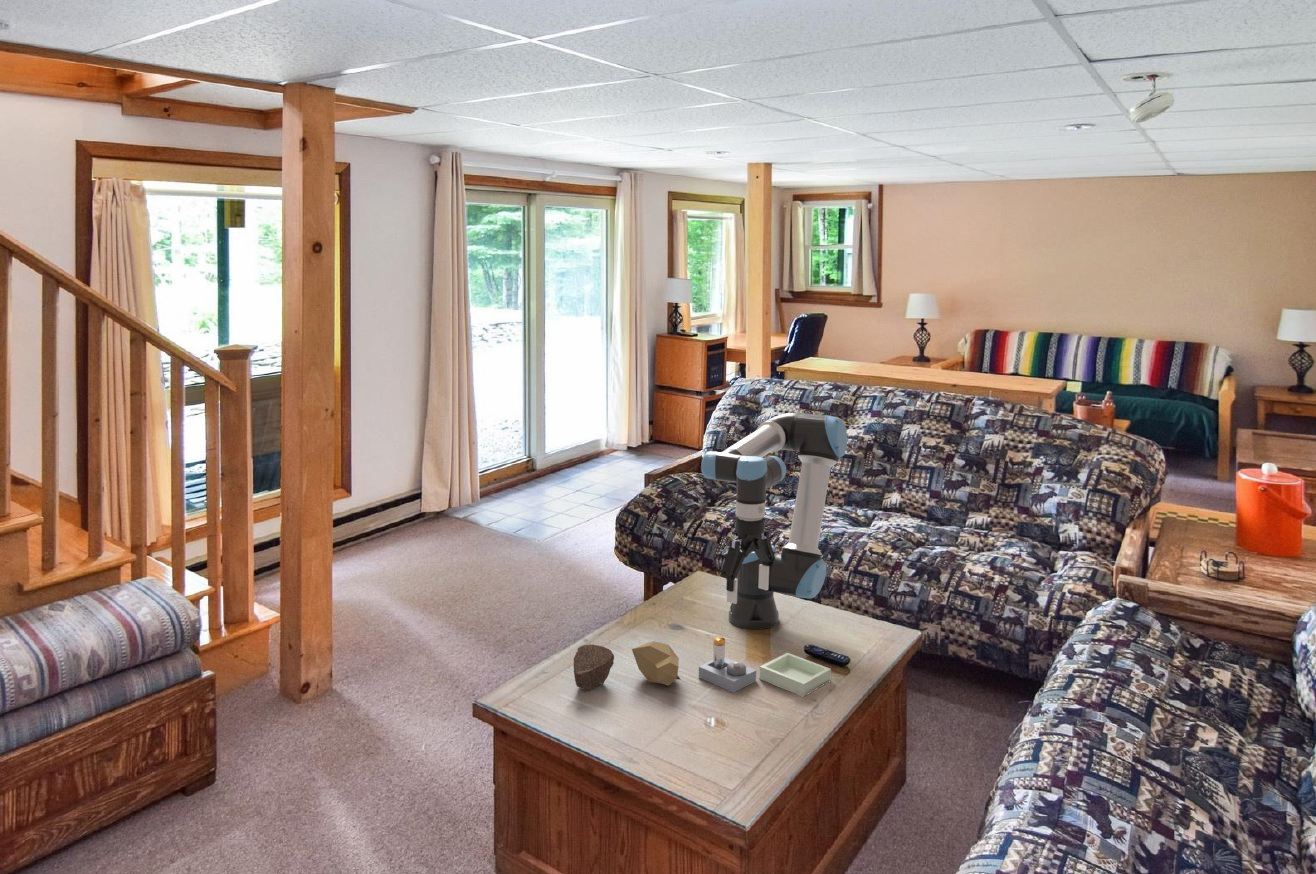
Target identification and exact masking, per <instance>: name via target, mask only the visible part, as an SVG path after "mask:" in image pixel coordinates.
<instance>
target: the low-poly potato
mask: <svg viewBox="0 0 1316 874" xmlns="http://www.w3.org/2000/svg"><path fill="white" fill-rule="evenodd" d="M631 651H632V654H633V657H634V661H636V662H635V663H636V665H637V668H638V670H639V671H640V673H641V674H642V675H643V677H644V678H645V679H646V680H647V682H648V683H653V684H659V685H660V684H661V685H665V686H670V685H671V684H672V683H674V682H675V680H679V681H680V680H681V678H680V676H679V675H678V674H679V665H680V664H679V661H680V660H679V659H680V658H679V657H678V655H677V654H676V652H674V649H673V648H672V647H671V646H670V644H668V643H663V642H658V641H651V642H648V643H645V644H642V645H639V646H637V647H633V648H631Z"/></svg>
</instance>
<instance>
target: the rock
mask: <svg viewBox="0 0 1316 874" xmlns="http://www.w3.org/2000/svg"><path fill="white" fill-rule="evenodd" d="M614 660H615V655H614V653H613V652H612V650H611V649H609V648H608V647H606V646H603V645H598V644H583V645H581V646H579V647H577V650H576V652H575V654H574V656H573V675H574V681H575V685H576V687H577V688H580V689H581V690H583V691H584V692H591V691H593V690H594V688H597V686H601V685H604V684H605V681H606V680H607V679H608V677H609V674H610V672H611V668H612V667H613V666H614V664H615V662H614Z"/></svg>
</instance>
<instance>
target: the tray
mask: <svg viewBox="0 0 1316 874" xmlns="http://www.w3.org/2000/svg"><path fill="white" fill-rule="evenodd" d="M831 674H832V669H831V668H829V667H827V666H824V665H821V664H820V663H816V662H813V661H812V660H808V659H806V658H804V657H803V658H802V657H801V656H798V655H796V654H795V655H794V654H792V653H789V652H785V653H784V654H782V655H780V656H778V657H776V658H774V659H772V660H770V661H768V662H766V663H764V664H761V666H759V680H761V681H764V682H766V683H769V684H771V685H773V686H776V687H778V688H780V689H783V690H785V691H788V692H791V693H793V694H795V693H796V695H798V696H800V697H802V696H804V697H805V695H806V696H807V695H809V694H811V693H812V691H813V692H815V691H816V690H817V689H816V688H818V689H820V688H822V687H823V686H824V685H823V684H825V683H827V682H828V683H830V682H831V678H832V675H831ZM829 681H830V682H829ZM828 683H827V684H828ZM822 685H823V686H822ZM825 685H826V684H825ZM819 687H820V688H819ZM815 689H816V690H815ZM810 692H811V693H810ZM808 693H809V694H808Z"/></svg>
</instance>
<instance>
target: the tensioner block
mask: <svg viewBox="0 0 1316 874" xmlns="http://www.w3.org/2000/svg"><path fill="white" fill-rule="evenodd" d="M698 678H699V679H702V680H704V681H707V682H709V683H711V684H714V685H715V686H718V687H721V688H723V689H725V690H727V691H729V692H732V693H735V692H737V691H739V690H741V689H743V688H745V687H746V686H749V685H750V684H752V683H754V682H756V681H757V670H756V669H754V668H751V667H750V666H747V665H745V664H744V663H741V662H740V661H735V660H732V659H729V658H727V657H725V660H724V668H723V669H721V670H718V669H716V668H713V659H711V660H710V661H708V662H706V663H703V664H701V665H699V666H698Z"/></svg>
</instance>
